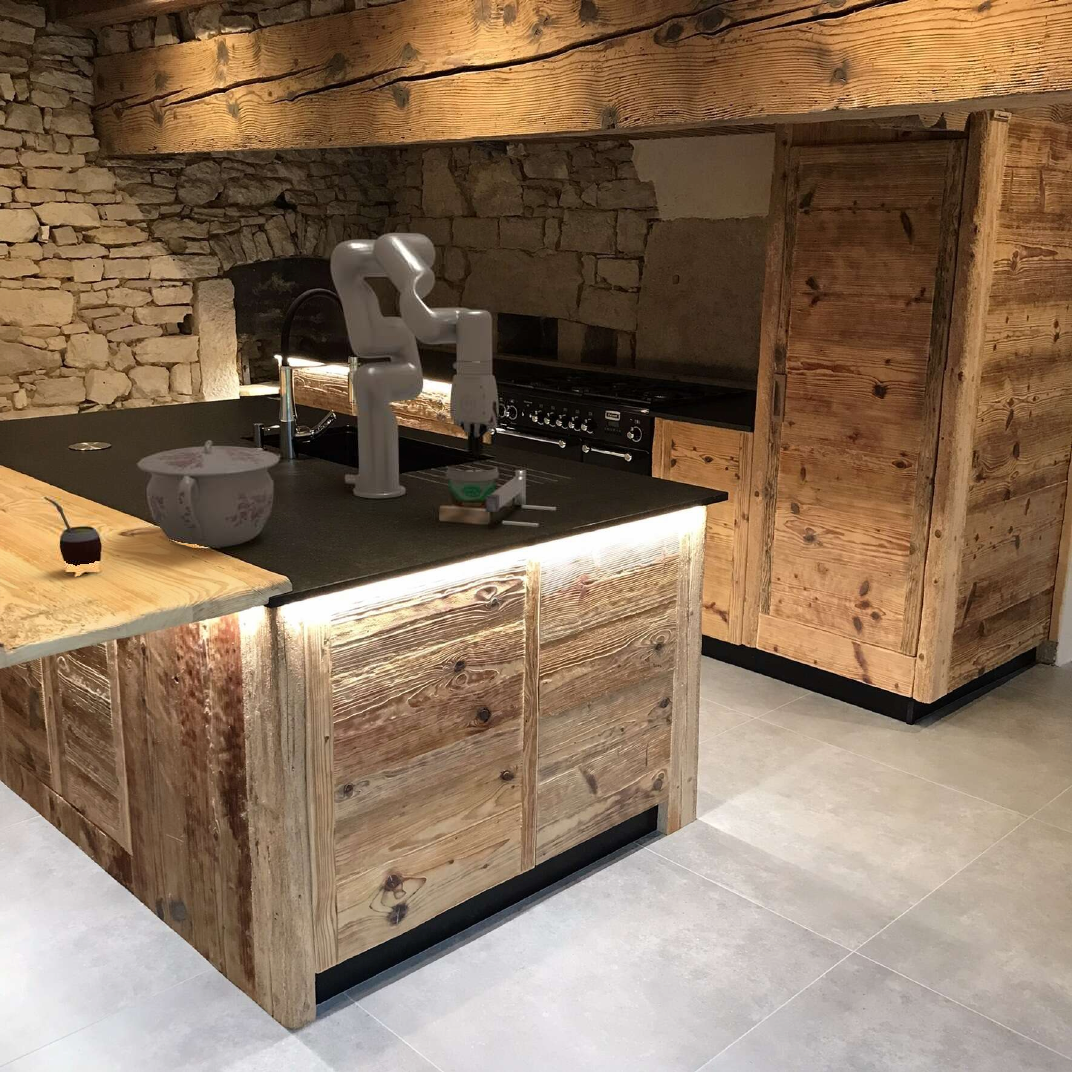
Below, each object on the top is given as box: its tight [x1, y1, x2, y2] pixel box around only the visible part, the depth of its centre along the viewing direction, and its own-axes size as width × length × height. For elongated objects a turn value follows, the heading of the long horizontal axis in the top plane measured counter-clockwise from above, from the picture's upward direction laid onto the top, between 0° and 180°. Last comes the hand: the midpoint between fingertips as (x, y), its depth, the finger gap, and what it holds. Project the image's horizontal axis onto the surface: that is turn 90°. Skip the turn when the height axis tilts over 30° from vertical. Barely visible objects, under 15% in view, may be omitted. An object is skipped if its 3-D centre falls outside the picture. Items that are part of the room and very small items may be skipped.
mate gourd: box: [44, 496, 103, 566], centre depth 198 cm, size 8×8×15 cm
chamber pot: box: [136, 439, 281, 547], centre depth 220 cm, size 28×28×21 cm
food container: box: [445, 466, 500, 509], centre depth 248 cm, size 12×6×10 cm, turn 105°
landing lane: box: [501, 504, 557, 528], centre depth 246 cm, size 8×17×1 cm, turn 165°
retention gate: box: [486, 469, 527, 513], centre depth 245 cm, size 2×25×8 cm, turn 165°
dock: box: [438, 490, 513, 526], centre depth 249 cm, size 11×20×3 cm, turn 165°
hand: (475, 454), depth 237 cm, fingers closed
